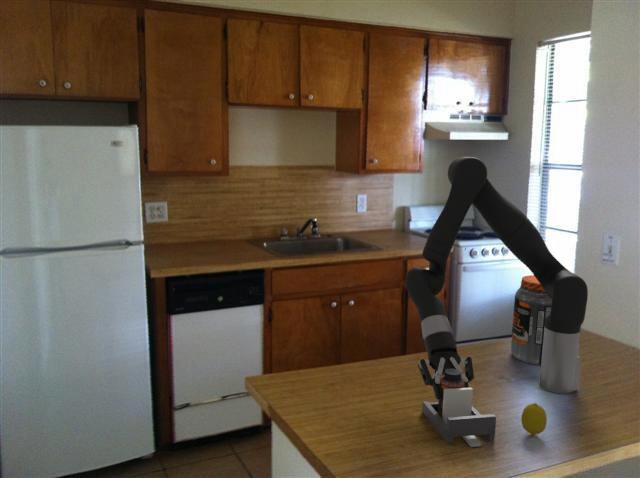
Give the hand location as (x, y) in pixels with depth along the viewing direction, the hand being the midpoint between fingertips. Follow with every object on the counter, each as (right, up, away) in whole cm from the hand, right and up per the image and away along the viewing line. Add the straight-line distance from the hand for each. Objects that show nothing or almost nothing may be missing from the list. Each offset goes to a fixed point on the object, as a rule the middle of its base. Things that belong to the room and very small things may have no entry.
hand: (454, 399), depth 140 cm
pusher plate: (+1, -7, -6) cm, 9 cm away
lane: (0, -6, -1) cm, 6 cm away
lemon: (+17, -7, -5) cm, 19 cm away
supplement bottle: (0, -5, +3) cm, 5 cm away
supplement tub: (+37, +1, +46) cm, 59 cm away
